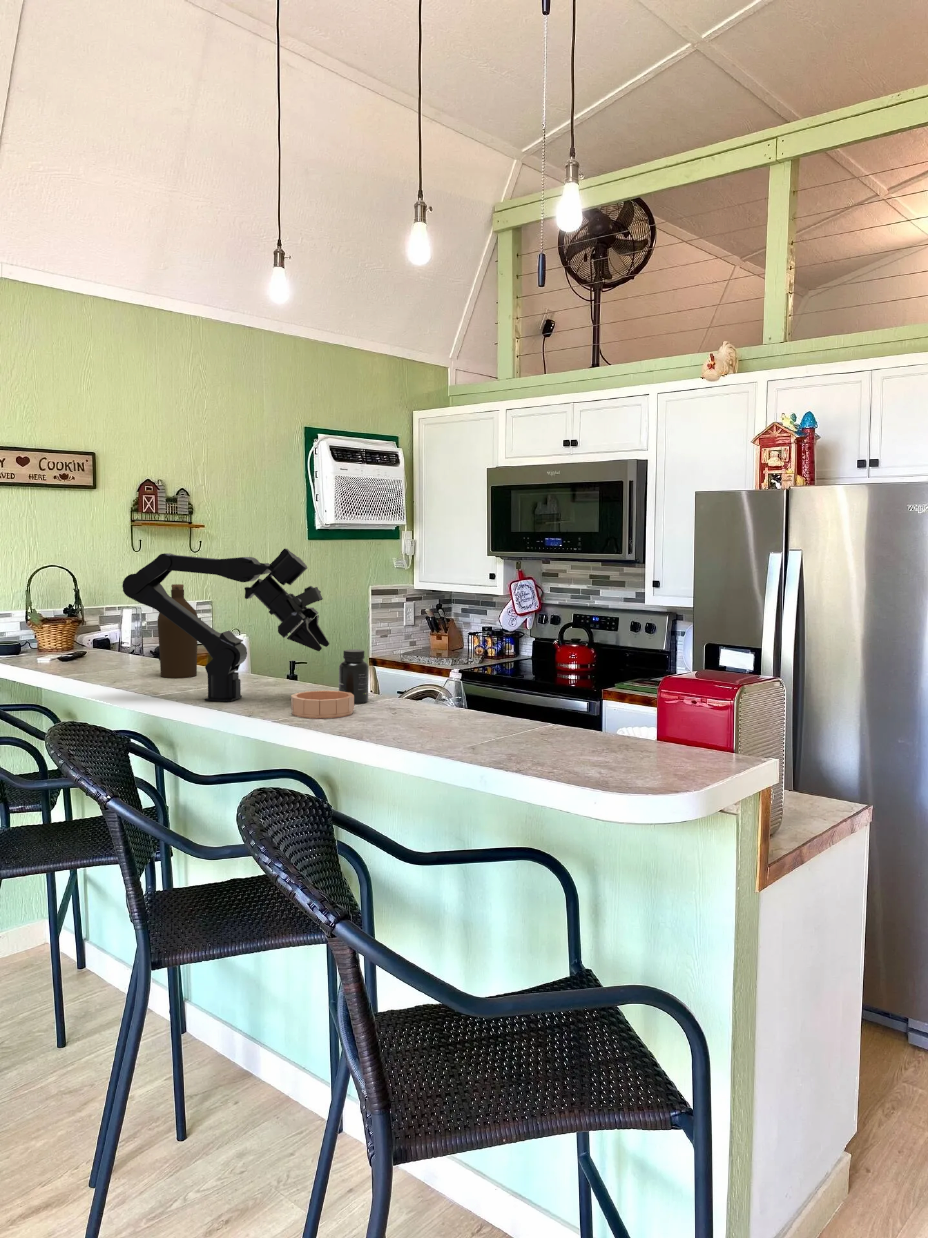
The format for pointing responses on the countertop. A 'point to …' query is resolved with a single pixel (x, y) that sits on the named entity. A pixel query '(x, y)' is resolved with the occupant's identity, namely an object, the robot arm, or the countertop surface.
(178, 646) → the olive oil
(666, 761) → the countertop surface
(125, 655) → the countertop surface
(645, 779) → the countertop surface
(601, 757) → the countertop surface
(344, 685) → the supplement bottle
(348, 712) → the terracotta bowl
